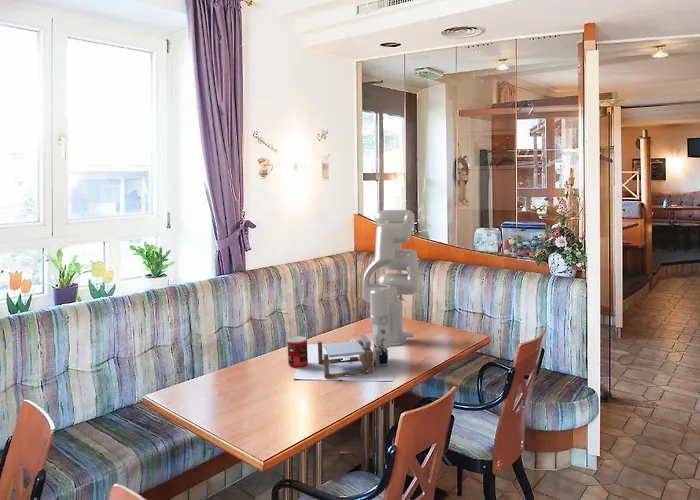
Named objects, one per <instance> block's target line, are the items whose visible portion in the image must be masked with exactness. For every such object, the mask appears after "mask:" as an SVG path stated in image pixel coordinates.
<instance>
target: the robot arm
mask: <svg viewBox="0 0 700 500" xmlns="http://www.w3.org/2000/svg"><path fill="white" fill-rule="evenodd" d="M374 221H375V222H374V223H375V225H376V231H375V247H374V259H373V260H372V261H371V263H370V264H369V265H368V267H367V268H366V269H365V272H364V273H363V276H362V286H361V287H362V289H361V293H362V294H361V297H362V299H363V301H364V302H367V303H369V304H370V306H369V307H370V308H369V310H370V311H369V313H370V324H371V325H372V342H373V348H375V347H377V348H378V349H379V350H380V354H379V362H380V364H387V363H388V364H389V356H388V357H387V350H388V349H389V348H390V346H391V347H393V346H401V345H404V344H406V343H407V338H413V337H414V333H413V332H409V331H406V332H404V325H403V321H404V320H403V314H404V313H403V303H402V300H401V299H400V297H399V296H414V295H416V294H417V293H418V289H419V257H418V253H417V251H416V250H414V249H410V248H402V244H407V243H409V242H410V240H411V237H412V234H413V229H414V225H415V214H414V212H413V211H412V210H409V209H384V210H382V209H381V210H379V211H377V212H376V213H375V214H374ZM382 268H384V269H385V270H387V271H405V272H407V273H401V272H400V273H399V272H397V273H396V272H393V273H392V272H389V273H388V272H387V273H384V274H382V275H380V277H378V278H379V279H378V284H376V283H371V280H372V279H371V278H372V276H373V275H374V274H375V272H377V271H378V270H380V269H382ZM381 349H382V350H381Z"/></svg>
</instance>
